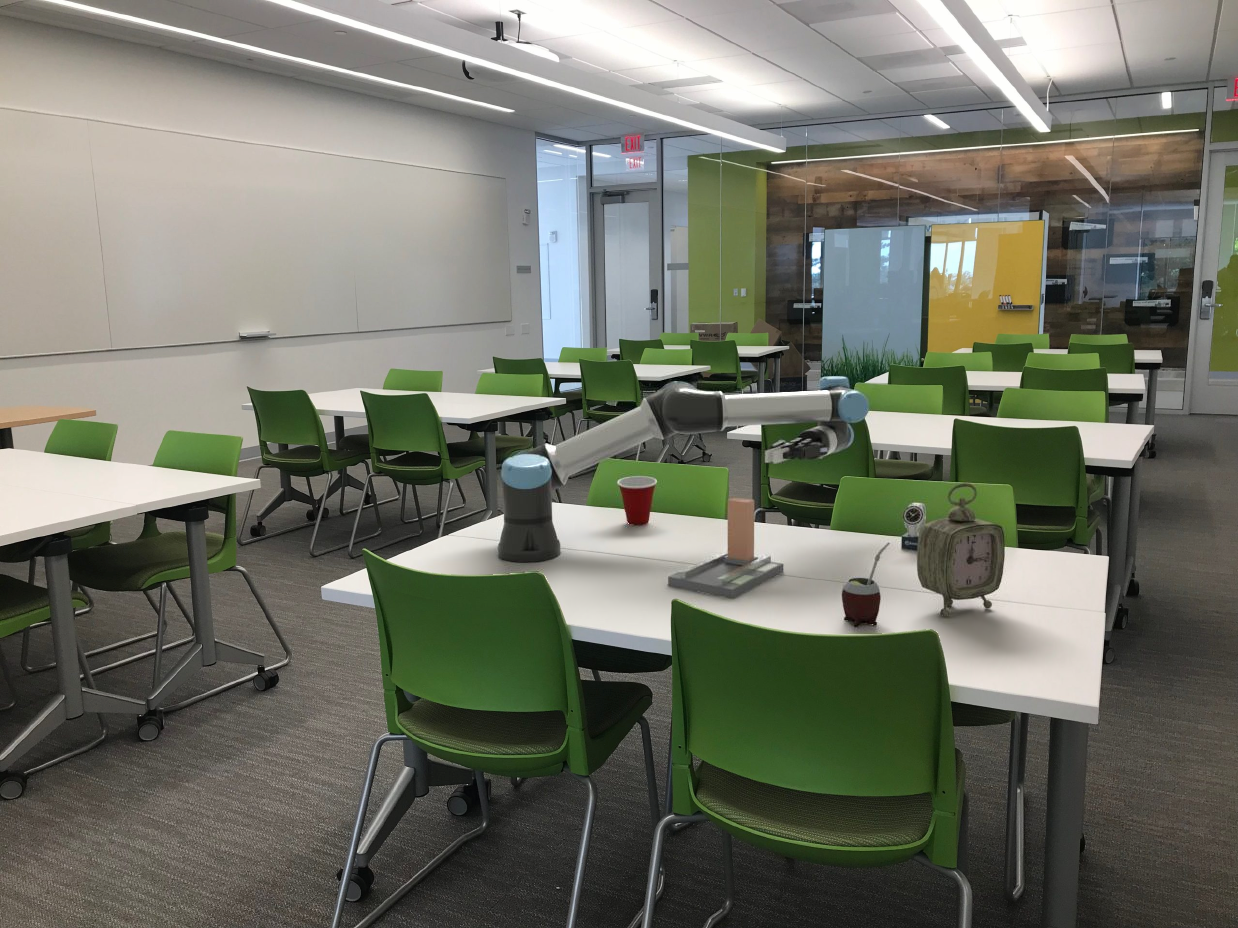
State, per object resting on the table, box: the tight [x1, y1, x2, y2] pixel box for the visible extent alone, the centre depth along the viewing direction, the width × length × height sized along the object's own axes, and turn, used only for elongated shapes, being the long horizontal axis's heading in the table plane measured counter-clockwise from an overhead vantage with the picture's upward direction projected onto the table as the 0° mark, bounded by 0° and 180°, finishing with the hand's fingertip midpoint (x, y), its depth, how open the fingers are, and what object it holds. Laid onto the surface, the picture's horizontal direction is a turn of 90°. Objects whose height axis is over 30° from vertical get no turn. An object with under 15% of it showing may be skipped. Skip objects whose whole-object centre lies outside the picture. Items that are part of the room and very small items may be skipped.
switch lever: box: [724, 496, 759, 566], centre depth 210 cm, size 6×4×14 cm, turn 53°
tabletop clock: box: [916, 482, 1006, 618], centre depth 183 cm, size 14×9×25 cm, turn 114°
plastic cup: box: [617, 475, 658, 526], centre depth 257 cm, size 11×11×12 cm
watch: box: [900, 502, 927, 552], centre depth 227 cm, size 6×8×11 cm
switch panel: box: [667, 550, 785, 600], centre depth 207 cm, size 16×22×4 cm
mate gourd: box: [841, 541, 891, 628], centre depth 178 cm, size 8×8×15 cm
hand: (770, 457), depth 218 cm, fingers closed
